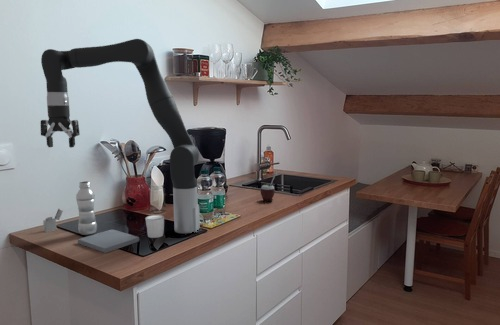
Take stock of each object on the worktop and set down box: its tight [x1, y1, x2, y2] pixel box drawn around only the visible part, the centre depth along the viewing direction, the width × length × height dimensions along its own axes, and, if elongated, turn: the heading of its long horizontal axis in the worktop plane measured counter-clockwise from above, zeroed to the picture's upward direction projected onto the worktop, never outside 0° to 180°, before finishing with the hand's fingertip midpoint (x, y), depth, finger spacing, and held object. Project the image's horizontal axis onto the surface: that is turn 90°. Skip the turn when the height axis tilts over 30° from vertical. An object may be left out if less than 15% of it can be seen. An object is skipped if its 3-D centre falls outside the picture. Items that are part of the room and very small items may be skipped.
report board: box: [77, 229, 140, 254], centre depth 144 cm, size 16×14×2 cm
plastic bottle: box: [75, 180, 98, 236], centre depth 152 cm, size 6×7×20 cm
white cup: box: [145, 214, 165, 239], centre depth 151 cm, size 7×7×7 cm
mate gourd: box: [260, 171, 280, 203], centre depth 202 cm, size 8×8×15 cm
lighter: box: [42, 208, 64, 233], centre depth 158 cm, size 7×2×8 cm, turn 133°
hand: (61, 147), depth 155 cm, fingers open, 8 cm apart
